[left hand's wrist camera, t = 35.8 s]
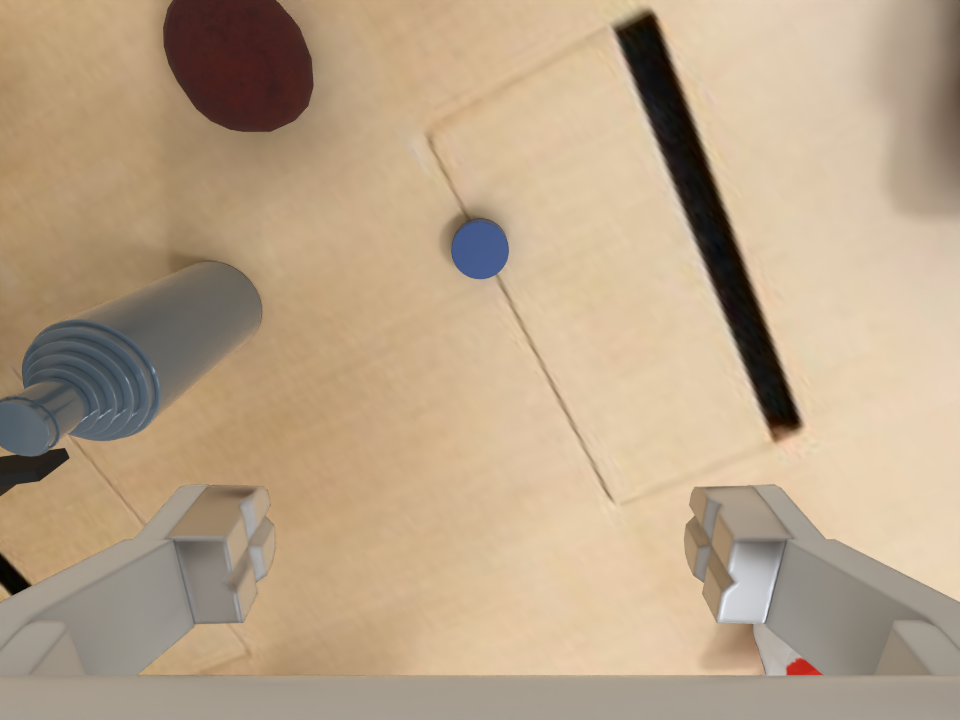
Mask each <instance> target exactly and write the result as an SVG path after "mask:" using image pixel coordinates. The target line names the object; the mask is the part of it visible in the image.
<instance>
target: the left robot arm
mask: <svg viewBox="0 0 960 720" xmlns="http://www.w3.org/2000/svg"><path fill="white" fill-rule="evenodd" d="M270 506H271V504H270V499H269V494H268V490H267V489H266V488H265V487H264V486H237V485H185V486H182V487H179V488H178V489H177V491H176V492H175V493H174V494H173V495H172V496H171V497H170V499H169V500H168V501H167V502H166V503H165V504H164V505H163V507H162V508H161V509H160V510H159V511H158V512H157V513H156V515H155V516H154V517H153V518H152V519H151V520H150V521H149V523H148V524H147V525H146V526H145V527H144V528H143V529H142V530H141V532H140V533H139V534H138V535H137V536H136V537H135V538H134V539H125V540H123V541H121V542H119V543H117V544H115V545H113V546H111V547H109V548H107V549H105V550H103V551H101V552H99V553H97V554H95V555H93V556H91V557H89V558H87V559H85V560H83V561H81V562H79V563H77V564H75V565H73V566H71V567H69V568H67V569H65V570H63V571H61V572H59V573H57V574H55V575H53V576H51V577H49V578H47V579H45V580H43V581H41V582H39V583H37V584H35V585H33V586H31V587H29V588H27V589H25V590H23V591H21V592H19V593H17V594H15V595H13V596H11V597H9V598H7V599H5V600H3V601H1V602H0V720H960V602H958V601H956V600H954V599H952V598H950V597H948V596H946V595H945V594H943V593H941V592H939V591H937V590H935V589H933V588H931V587H929V586H927V585H925V584H923V583H921V582H919V581H917V580H915V579H913V578H911V577H909V576H907V575H905V574H903V573H901V572H899V571H897V570H895V569H893V568H891V567H889V566H887V565H885V564H883V563H881V562H879V561H877V560H875V559H873V558H871V557H869V556H867V555H865V554H863V553H861V552H859V551H857V550H855V549H853V548H851V547H849V546H847V545H845V544H843V543H841V542H839V541H837V540H835V539H826V538H825V537H824V536H823V535H822V534H821V533H820V532H819V531H818V529H817V528H816V527H815V526H814V525H813V524H812V523H811V521H810V520H809V519H808V518H807V517H806V516H805V515H804V513H803V512H802V511H801V510H800V509H799V508H798V507H797V505H796V504H795V503H794V502H793V501H792V500H791V499H790V497H789V496H788V495H787V494H786V493H785V492H784V491H783V490H782V488H780V487H779V486H776V485H748V486H712V487H694V489H693V491H692V493H691V498H690V503H689V506H690V507H691V509H692V511H693V513H694V515H695V516H694V517H693V518H692V519H691V520H690V521H689V522H688V523H687V524H686V528H685V536H684V545H685V555H686V558H687V562H688V565H689V567H690V569H691V572H692V574H693V575H694V576H695V577H696V578H698V579H699V580H701V581H702V582H703V583H704V587H703V592H702V594H703V596H704V598H705V600H706V602H707V604H708V606H709V608H710V610H711V612H712V614H713V616H714V618H715V620H716V622H717V623H743V624H766V627H767V628H768V629H769V630H770V631H772V632H773V633H774V634H775V635H776V636H777V637H779V638H780V639H781V640H782V641H783V642H785V643H786V644H787V645H788V646H789V647H791V648H792V649H793V650H794V651H795V652H797V653H798V654H799V655H800V656H801V657H802V658H804V659H805V660H806V661H807V662H808V663H810V664H811V665H812V666H813V667H814V668H816V669H817V670H818V671H819V672H820V673H821V674H823V675H137V674H139V673H140V672H141V671H142V670H143V669H145V668H146V667H147V666H148V665H149V664H151V663H152V662H153V661H154V660H155V659H157V658H158V657H159V656H160V655H161V654H163V653H164V652H165V651H166V650H167V649H168V648H170V647H171V646H172V645H173V644H174V643H176V642H177V641H178V640H179V639H180V638H182V637H183V636H184V635H185V634H186V633H188V632H189V631H190V630H191V629H192V628H193V627H194V624H216V623H243V622H244V620H245V618H246V616H247V614H248V612H249V610H250V608H251V606H252V604H253V602H254V600H255V598H256V596H257V594H258V592H257V587H256V583H257V582H258V581H259V580H261V579H262V578H264V577H265V576H266V575H267V574H268V572H269V569H270V567H271V565H272V562H273V558H274V553H275V548H276V534H275V528H274V524H273V523H272V522H271V521H270V520H269V519H268V518H267V517H266V516H265V515H266V513H267V511H268V509H269V507H270Z"/></svg>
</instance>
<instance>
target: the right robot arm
mask: <svg viewBox="0 0 960 720" xmlns="http://www.w3.org/2000/svg"><path fill="white" fill-rule="evenodd" d="M68 459H69V455H68V453H67V451H66V449H65V448H61V449H54V450H48V451H47V452H46V453H44V454H41V455H39V456H32V457H30V456H22V455H11V456H3V457H0V496H1V495H3V494H4V493H5V492H7V491H8V490H10V489H11V488H12V487H14V486H15V485H16V484H22V483H29V482H37V481H40V480H42V479H43V478H44V477H46V476H47V475H48V474H49V473H51V472H52V471H53V470H55V469H56V468H57V467H59V466H60V465H61V464H63V463H64V462H65V461H66V460H68Z"/></svg>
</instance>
